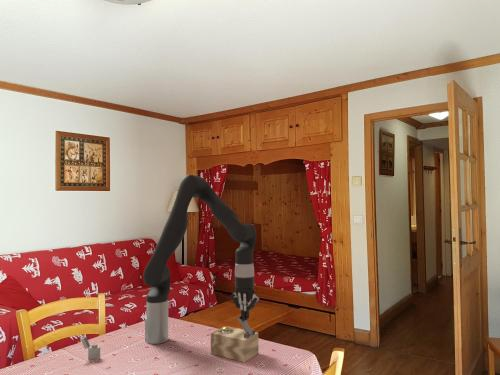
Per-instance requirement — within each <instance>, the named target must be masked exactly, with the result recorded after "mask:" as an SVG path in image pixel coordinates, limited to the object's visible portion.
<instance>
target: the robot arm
mask: <svg viewBox="0 0 500 375" xmlns="http://www.w3.org/2000/svg"><path fill="white" fill-rule="evenodd" d="M193 198H197V199H199V200H200V201H202V202H203V203H205V205H206V206H208V208H209V209H210V212H211V213H212V215H213V217H215V219H216V220H217V221H218V222H219V223H220V224H222V225H223V226H224V228H225V229H226V231H227V233H228V235H229V236H230V238H232V239H233V240H234V241H236V242H238V243H239V244H240V245H239V247H238V248H236V250H235V258H234V259H235V261H234V262H235V263H234V265H235V267H234V286H235V289H234V292H233V293H231V294H230V298H231V300H232V301H233V303H234V305H235V308H237V309H239V310H240V317H241V318H242V320H245V321H248V320H249V319H250V310H253V309H254V308H255V306H256V305H257V303H258V302H259V301H260V299H261V297H260V296H257V295H256V293H255V266H254V250H255V246H256V240H257V231H256V227H255V225H253V224H252V223H241V222H240V221H239V219H240V218H239V214H237V213H236V211H234V210H233V209H232V208H231V207H230V206H229V205H228V204H227V203H225V201H224V200H222V199H221V198H220V197H219V196H218V194H217V193H216V192H215V191H214V189H213V188H212V186H210V183H208V181H207V180H206V179H205V178H203V177H201V176H198V175H195V174H187V175H184V177H183V178H182V179H181V181H180V183H179V186H178V189H177V193H176V196H175V199H174V202H173V205H172V207H171V210H170V213H169V216H168V218H167V219H166V222H165V225H164V226H163V229H162V232H161V235H160V237H159V240H158V242H157V244H156V247H155V249H154V251H153V254H152V256H151V257H150V259H149V261H148V263H147V264H146V266H145V268H144V270H143V273H142V275H143V276H142V279H143V282H144V283H145V285H146V286H148V287H150V290H149V291H148V292H147V294H146V299H145V300H146V317H145V318H144V341H146V343H147V344H150V345H158V344H164V343H166V342H167V341H169V294H170V291H171V270H170V267H169V266H168V265H167V264H168V261H169V260H170V258H171V257H172V255H173V254H174V252H175V251H176V250H177V248H178V247H179V246H180V245H181V243H182V240H183V239H184V236H185V234H186V232H187V229H188V224H189V223H188V209H189V206H190V203H191V201H192V200H193Z"/></svg>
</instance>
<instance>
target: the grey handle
mask: <svg viewBox="0 0 500 375" xmlns="http://www.w3.org/2000/svg"><path fill="white" fill-rule="evenodd" d="M236 320H237V322H239V323H240V325H241V327H242V329H243V330H245V332H246V333H248V334H249V336H251V335H253V332H252V330H253V329H252V328H251V326H250V325H249V323H248V320H246V321H245V320H242V318H241V316H238V317H237V319H236Z"/></svg>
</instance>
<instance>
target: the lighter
mask: <svg viewBox="0 0 500 375" xmlns="http://www.w3.org/2000/svg"><path fill="white" fill-rule="evenodd" d="M80 341H81V343H82V346H83V348H84V349H85V350H88V351H87V352H88V354H87V358H88V360H97V359H98V360H99V359H101V346H98V344H97V343H94V344H93V343H92V344H91V345H90V342H89V340H88V338H87V336H84V337H82V338H81V339H80Z"/></svg>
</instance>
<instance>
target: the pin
mask: <svg viewBox="0 0 500 375" xmlns="http://www.w3.org/2000/svg"><path fill="white" fill-rule="evenodd" d="M230 327H231V326H228V325H224V326H221V328H222V333H226V334H228V333H230Z"/></svg>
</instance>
